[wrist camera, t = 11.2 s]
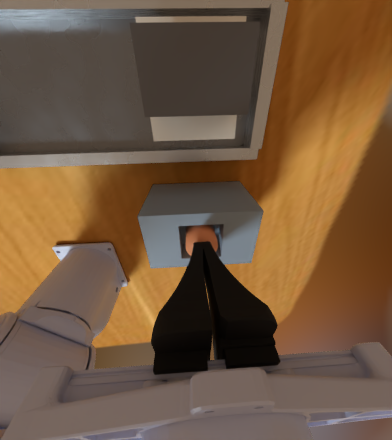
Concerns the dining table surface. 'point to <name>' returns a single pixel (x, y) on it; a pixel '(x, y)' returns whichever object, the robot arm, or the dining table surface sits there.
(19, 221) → the dining table surface
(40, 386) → the robot arm
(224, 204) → the end cabinet
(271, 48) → the grey metal tray
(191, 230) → the button
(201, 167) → the dining table surface
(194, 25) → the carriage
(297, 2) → the dining table surface
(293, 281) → the dining table surface
